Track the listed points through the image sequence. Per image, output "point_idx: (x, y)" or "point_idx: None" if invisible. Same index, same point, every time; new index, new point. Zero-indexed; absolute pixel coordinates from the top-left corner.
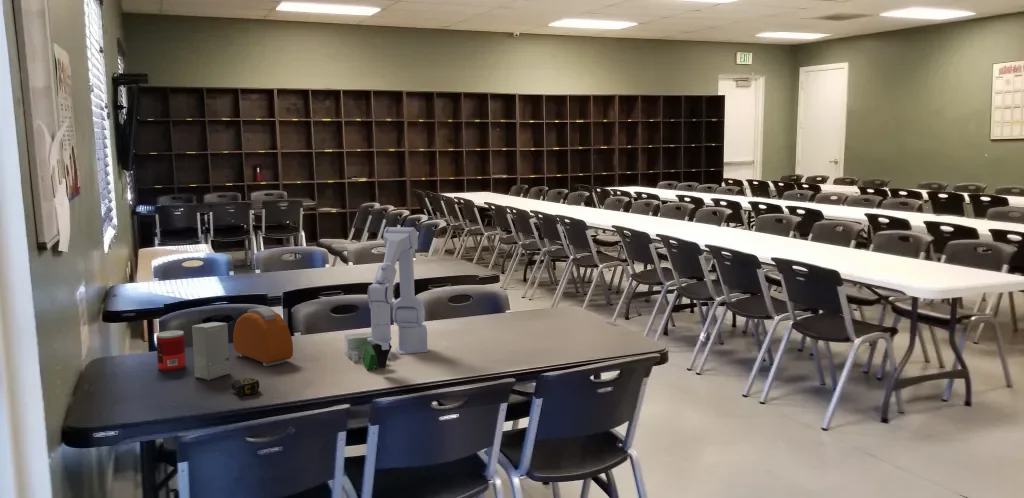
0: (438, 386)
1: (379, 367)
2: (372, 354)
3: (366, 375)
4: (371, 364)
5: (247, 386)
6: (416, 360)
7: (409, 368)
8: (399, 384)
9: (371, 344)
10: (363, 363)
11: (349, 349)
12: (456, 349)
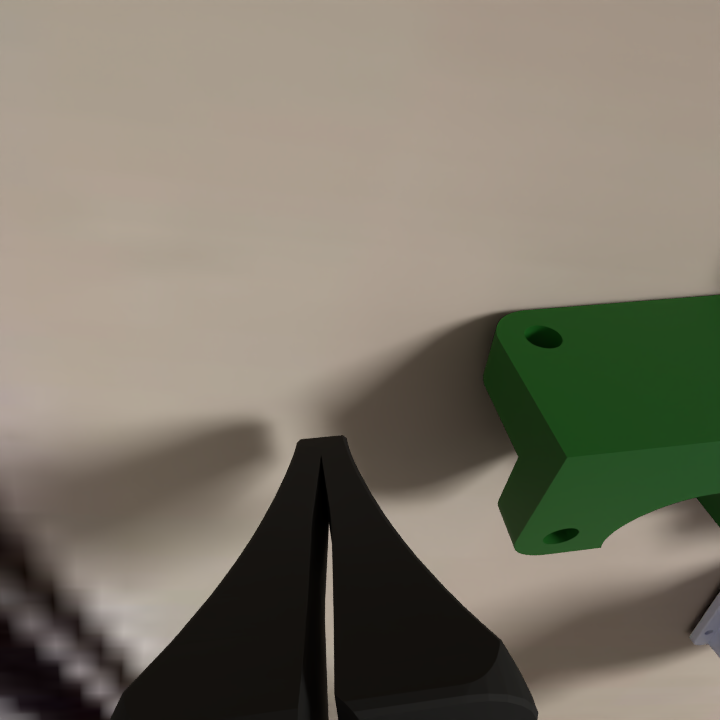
0: (7, 667)
1: (295, 451)
2: (561, 468)
3: (357, 290)
4: (504, 379)
5: None
6: (577, 596)
7: (432, 566)
8: (38, 509)
9: (487, 704)
10: (716, 299)
11: None
12: (642, 705)
